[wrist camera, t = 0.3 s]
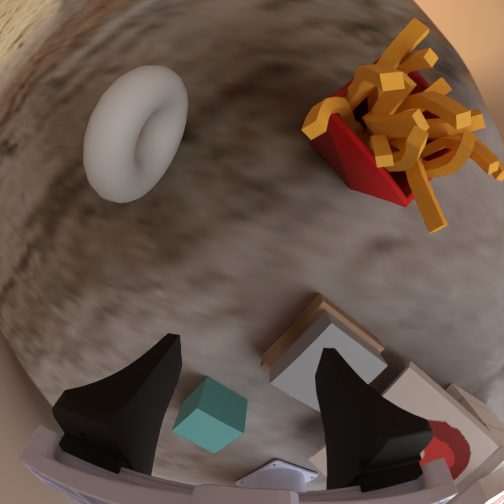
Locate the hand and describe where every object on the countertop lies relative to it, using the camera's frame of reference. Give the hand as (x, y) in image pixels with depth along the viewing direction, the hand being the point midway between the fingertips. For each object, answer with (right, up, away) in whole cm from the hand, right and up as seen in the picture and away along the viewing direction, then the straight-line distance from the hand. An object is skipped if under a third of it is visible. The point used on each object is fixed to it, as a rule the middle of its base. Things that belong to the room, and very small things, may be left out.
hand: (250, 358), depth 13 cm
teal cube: (-4, -11, +13) cm, 17 cm away
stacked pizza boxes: (+23, -19, +13) cm, 32 cm away
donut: (-7, +14, +8) cm, 18 cm away
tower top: (+7, -4, +9) cm, 12 cm away
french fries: (+8, +13, +8) cm, 17 cm away
